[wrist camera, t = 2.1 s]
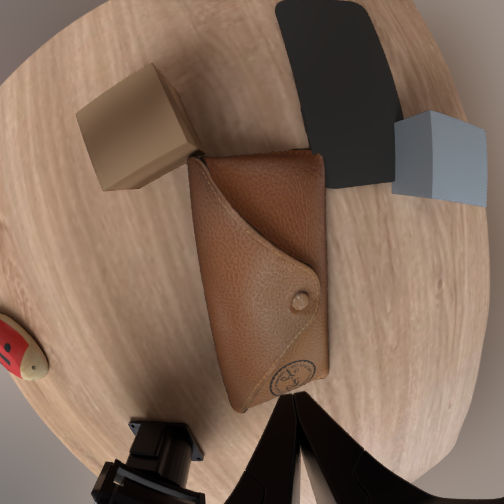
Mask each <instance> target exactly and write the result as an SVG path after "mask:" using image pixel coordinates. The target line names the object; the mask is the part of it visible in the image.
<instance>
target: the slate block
mask: <svg viewBox="0 0 504 504" xmlns="http://www.w3.org/2000/svg"><path fill="white" fill-rule="evenodd" d="M394 127H395V182H392V194H399V195H407V196H416V197H423V198H431V199H438V200H445V201H451V202H458V203H464V204H470V205H476V206H481V207H486V201H487V147H486V132H485V130H483V129H481V128H479V127H476V126H474V125H471V124H469V123H466V122H464V121H461V120H458V119H456V118H453V117H450V116H447V115H444V114H441V113H438V112H435V111H432V110H428V111H425V112H423V113H420V114H417V115H414V116H412V117H409V118H406V119H404V120H401V121H398V122H396V123H394Z"/></svg>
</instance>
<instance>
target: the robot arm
mask: <svg viewBox="0 0 504 504" xmlns="http://www.w3.org/2000/svg"><path fill="white" fill-rule="evenodd" d="M128 425H129V427H130V429H131V430H132V432H133V433H134V435H135V439H134V441H133V443H132V446H131V448H130V451H129V452H130V454H129V457H128V459H127V462H126V464H124V463H122V462H121V461H119V460H118V459H115V461H114V463H113V462H105V464H104V466H103V469H102V471H101V473H100V475H99V477H98V480H97V481H96V484H95V486H94V488H93V490H92V492H91V495H92V497H93V499H94V501H95V502H94V504H206V502H205V494H204V493H200V492H199V493H198V492H194V491H191V490H188V489H185V488H186V483H187V478H188V473H189V468H190V463H191V461H203V458H204V456H203V454H202V453H201V451H200V449H199V447H198V445H197V443H196V441H195V439H194V437H193V436H192V434H191V432H190V430H189V428H188V426H187V425H186V424H183V423H158V422H142V421H130V422H129V424H128ZM300 448H301V451H300ZM301 453H302V457H303V460H304V463H305V467H306V470H307V473H308V476H309V479H310V483H311V486H312V489H313V492H314V495H315V499H316V502H317V504H504V497H502V498H497V499H452V498H442V497H437V496H434V495H431V494H428V493H427V492H425V491H423V490H421V489H419V488H418V487H416V486H414V485H412V484H411V483H409V482H408V481H406V480H404V479H403V478H401V477H399V476H398V475H396V474H395V473H393V472H392V471H390V470H389V469H387V468H386V467H385V466H383V465H382V464H381V463H380V462H378V461H377V460H376V459H375V458H374V457H373V456H371V455H370V454H369V453H368V452H367V451H366V450H364V448H363V447H362V446H361V445H359V444H358V443H357V442H356V441H355V440H354V439H353V438H352V437H351V436H350V435H349V434H348V433H347V432H346V431H345V430H344V429H343V428H342V427H341V426H340V425H339V424H338V423H337V422H336V421H335V420H334V419H333V418H332V417H331V416H330V415H329V414H328V413H327V412H326V411H325V410H324V409H323V408H322V407H321V406H320V405H319V404H318V403H317V402H316V401H315V400H314V399H313V398H312V397H311V396H310V395H309V394H308V393H307V392H305V391H302V392H297V393H294V394H284V395H280V397H279V399H278V401H277V403H276V406H275V408H274V410H273V412H272V415H271V417H270V419H269V421H268V423H267V426H266V428H265V430H264V432H263V434H262V436H261V439H260V441H259V443H258V445H257V447H256V449H255V451H254V453H253V455H252V457H251V459H250V461H249V463H248V465H247V467H246V469H245V470H246V471H244V472H243V474H242V476H241V478H240V480H239V482H238V483H237V485H236V487H235V489H234V490H233V492H232V493H231V495H230V496H229V497H228V499H227V500H226V502H225V503H224V504H300V474H301ZM113 481H115V482H117V483H119V484H120V485H118V484H116V483H114V482H113Z"/></svg>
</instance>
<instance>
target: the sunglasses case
mask: <svg viewBox="0 0 504 504" xmlns="http://www.w3.org/2000/svg"><path fill="white" fill-rule="evenodd" d="M187 165H188V173H189V176H188V177H189V187H190V198H191V208H192V217H193V224H194V232H195V239H196V246H197V253H198V259H199V265H200V272H201V277H202V282H203V287H204V293H205V299H206V304H207V309H208V314H209V320H210V325H211V330H212V335H213V340H214V345H215V349H216V353H217V359H218V362H219V366H220V370H221V374H222V378H223V382H224V385H225V388H226V392H227V394H228V398H229V402H230V404H231V406H232V408H233V409H234V410H235V411H236V412H238V413H245V412H246V411H247V409H248V408H250V407H253V406H256V405H258V404H261V403H263V402H265V401H268V400H270V399H273V398H275V397H278V396H280V395H282V394H285V393H287V392H290V391H291V390H293V389H296V388H298V387H300V386H302V385H305V384H306V383H308V382H310V381H313V380H317V379H323V378H325V377H326V376H327V375H328V372H329V350H328V293H327V246H326V202H325V166H324V160H323V156H321V155H320V154H319V153H317V154H315V155H313V154H312V151H311V149H292V150H288V151H283V152H282V151H279V152H274V151H273V152H271V153H264V154H262V153H259V154H250V155H240V156H230V157H200V158H199V157H196V156H191V157H188V158H187Z"/></svg>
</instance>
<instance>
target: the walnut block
mask: <svg viewBox="0 0 504 504" xmlns="http://www.w3.org/2000/svg"><path fill="white" fill-rule="evenodd" d="M76 117H77V121H78V124H79V127H80V130H81V133H82V136H83V139H84V142H85V145H86V148H87V151H88V154H89V157H90V159H91V162H92V165H93V167H94V170H95V173H96V175H97V178H98V180H99V183H100V185H101V188H102V190H103V191H115V190H128V189H140V188H141V187H143V186H145V185H147V184H148V183H150V182H152V181H154V180H155V179H157V178H159V177H161V176H163V175H164V174H166V173H168V172H170V171H172V170H174V169H176V168H178V167H179V166H181V165H183V164H185V163H187V158H188V157H191V156H196V157H199V156H201V155H203V154H205V152H204V150H203V148H202V145H201V143H200V141H199V139H198V137H197V135H196V132H195V130H194V128H193V126H192V124H191V122H190V119H189V117H188V115H187V113H186V111H185V109H184V106H183V104H182V102H181V100H180V98H179V96H178V93H177V91H176V90H175V89H174V88H173V86H172V85H171V84H170V83H169V82H168V81H167V79H166V78H165V77H164V76H163V75H162V74H161V73H160V71H159V70H158V69H157V68H156V67H155V66H154V65H153V63H151V64H149V65H147V66H146V67H144V68H142V69H140V70H139V71H137V72H135V73H134V74H132V75H130V76H129V77H127V78H126V79H124V80H122V81H121V82H119V83H118V84H116V85H115V86H113V87H112V88H110V89H109V90H107V91H106V92H104V93H103V94H101V95H100V96H99V97H97V98H96V99H94V100H93V101H92V102H90V103H89V104H88V105H86V106H85V107H84V108H82V109H81V110H80V111H79V112H77V113H76Z"/></svg>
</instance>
